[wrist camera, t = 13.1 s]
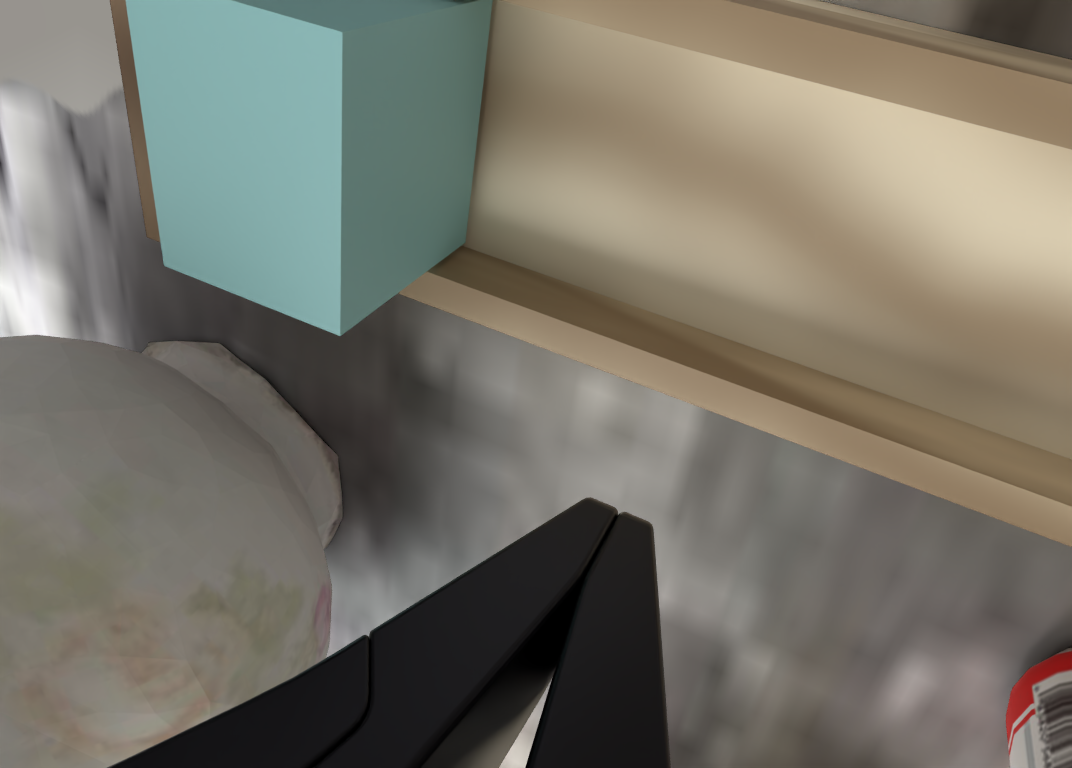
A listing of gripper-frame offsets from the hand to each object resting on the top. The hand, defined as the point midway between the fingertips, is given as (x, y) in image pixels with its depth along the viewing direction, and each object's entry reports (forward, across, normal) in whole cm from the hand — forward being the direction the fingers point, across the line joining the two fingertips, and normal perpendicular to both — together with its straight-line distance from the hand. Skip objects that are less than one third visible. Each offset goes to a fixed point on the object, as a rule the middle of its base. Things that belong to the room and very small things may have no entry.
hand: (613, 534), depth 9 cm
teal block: (+12, +10, 0) cm, 15 cm away
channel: (+13, +2, 0) cm, 13 cm away
